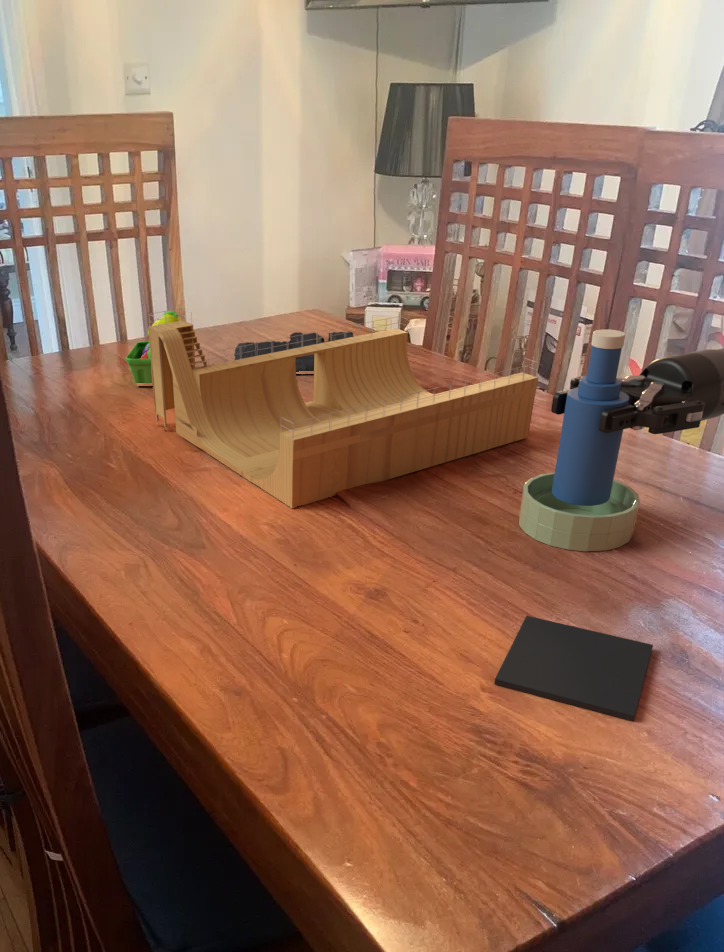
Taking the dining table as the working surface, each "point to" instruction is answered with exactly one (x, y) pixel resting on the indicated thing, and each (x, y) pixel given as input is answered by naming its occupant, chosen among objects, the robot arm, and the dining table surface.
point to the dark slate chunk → (288, 347)
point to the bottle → (591, 427)
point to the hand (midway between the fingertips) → (578, 412)
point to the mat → (576, 667)
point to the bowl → (577, 517)
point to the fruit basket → (146, 354)
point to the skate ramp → (329, 412)
